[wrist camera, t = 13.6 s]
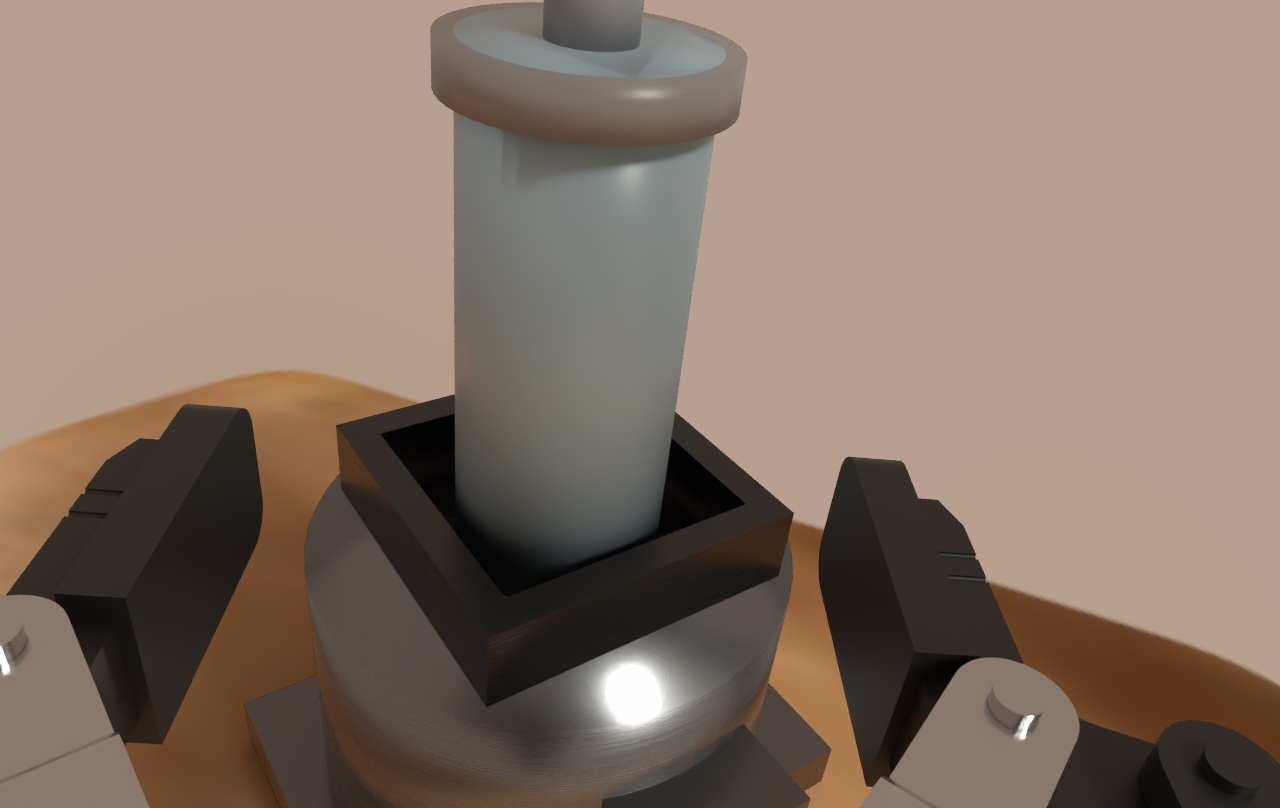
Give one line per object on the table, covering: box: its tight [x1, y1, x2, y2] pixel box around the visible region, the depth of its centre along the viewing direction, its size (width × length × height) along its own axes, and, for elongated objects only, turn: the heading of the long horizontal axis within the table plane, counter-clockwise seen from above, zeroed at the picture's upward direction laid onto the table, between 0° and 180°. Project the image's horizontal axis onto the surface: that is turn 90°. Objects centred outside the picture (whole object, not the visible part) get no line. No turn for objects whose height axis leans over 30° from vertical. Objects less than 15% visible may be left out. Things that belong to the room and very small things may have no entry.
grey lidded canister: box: [431, 0, 747, 597], centre depth 21 cm, size 6×6×14 cm
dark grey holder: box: [244, 394, 831, 808], centre depth 26 cm, size 14×14×11 cm
